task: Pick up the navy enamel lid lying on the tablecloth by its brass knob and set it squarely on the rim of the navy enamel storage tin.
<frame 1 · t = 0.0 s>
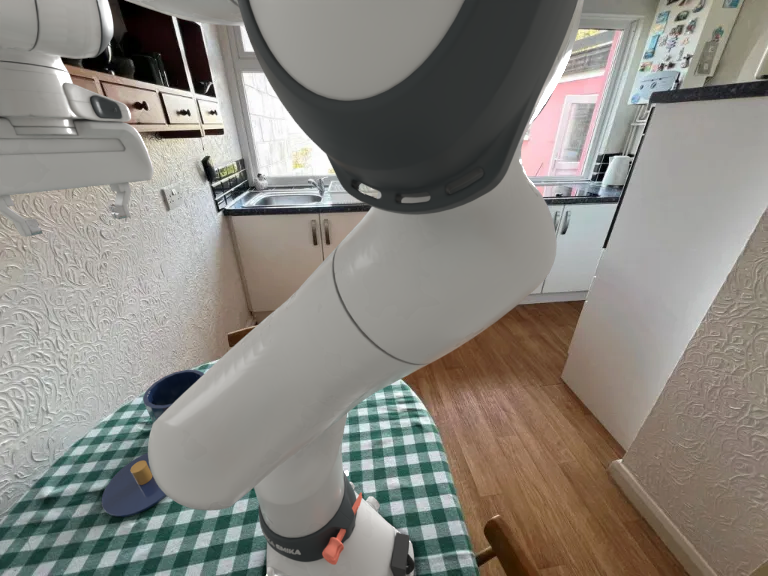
hand: (81, 225, 40), 48 cm above the table, tool pointing down, fingers open, 8 cm apart
tin: (188, 419, 72), on the table
tin lid: (146, 480, 58), point 1 cm above the table
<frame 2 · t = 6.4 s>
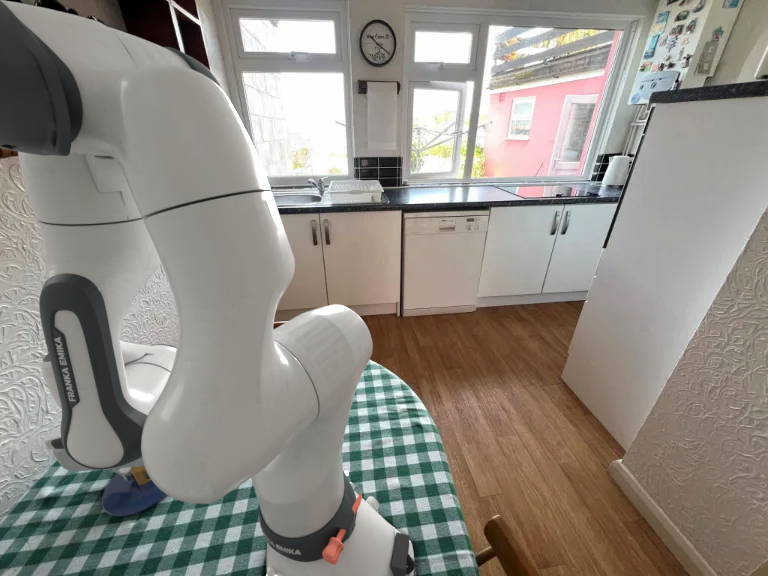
hand: (143, 475, 58), 2 cm above the table, tool pointing down, fingers closed on tin lid, 2 cm apart
tin lid: (146, 480, 58), point 1 cm above the table, touching gripper
everything else where it was.
when the fingers open (11 cm above the table, at t = 13.2 s): tin lid stays where it is, resting on tin.
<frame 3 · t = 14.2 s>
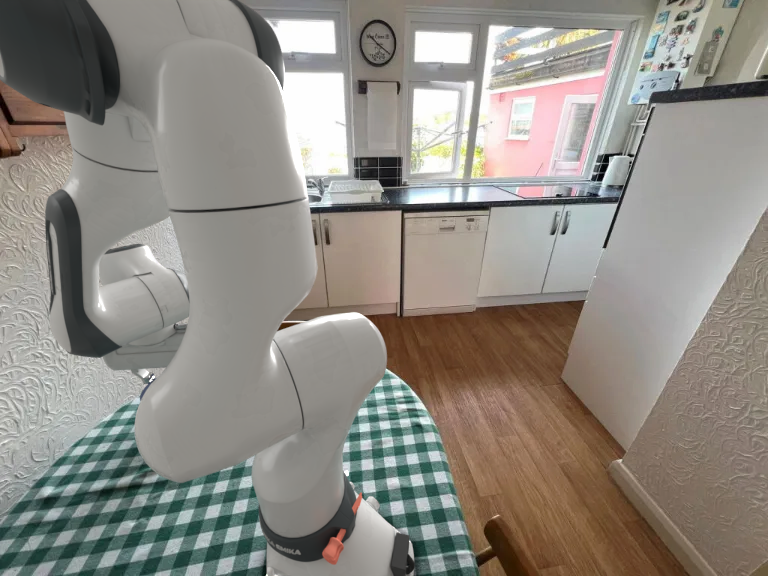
hand: (173, 380, 67), 12 cm above the table, tool pointing down, fingers open, 8 cm apart
tin lid: (175, 387, 68), point 9 cm above the table, touching tin
everything else where it was.
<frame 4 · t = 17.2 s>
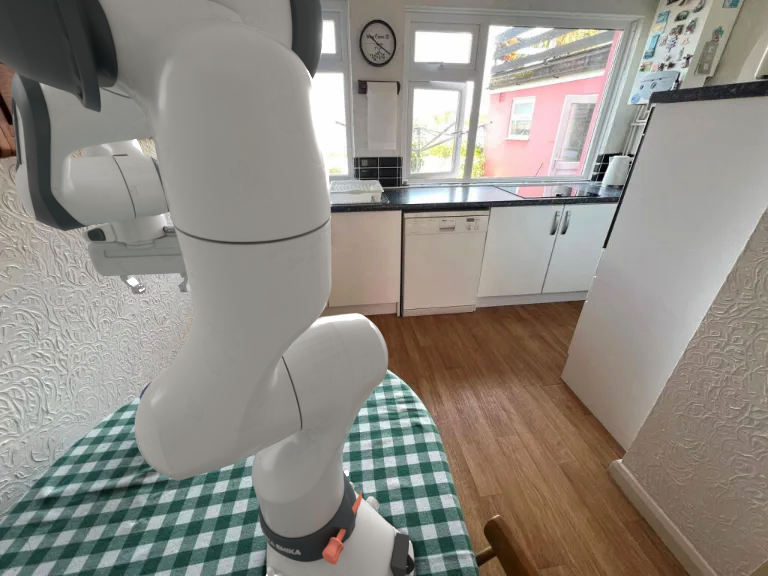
hand: (163, 292, 66), 29 cm above the table, tool pointing down, fingers open, 8 cm apart
nothing on the table moved.
at the end: tin lid 0.1 cm off-centre on the tin, point 9.5 cm above the tin's base; tin lid tilted 0°; the gripper is holding nothing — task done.
